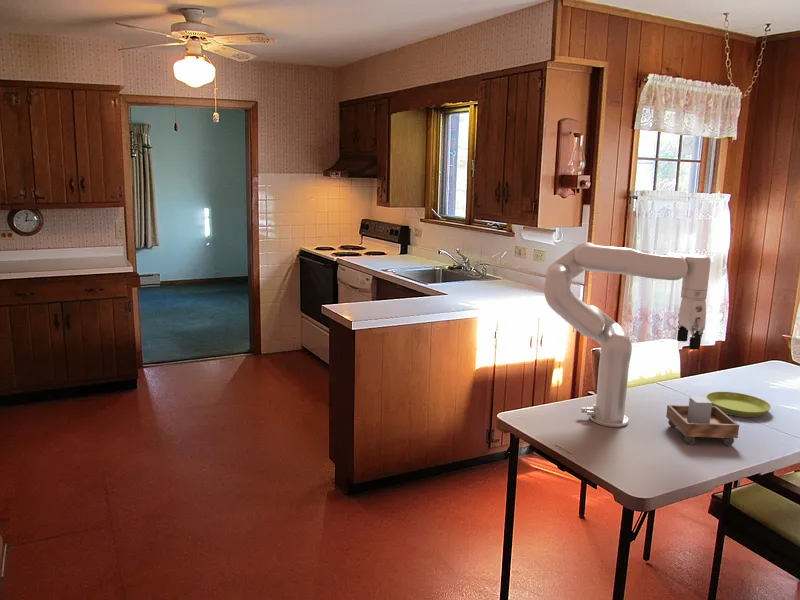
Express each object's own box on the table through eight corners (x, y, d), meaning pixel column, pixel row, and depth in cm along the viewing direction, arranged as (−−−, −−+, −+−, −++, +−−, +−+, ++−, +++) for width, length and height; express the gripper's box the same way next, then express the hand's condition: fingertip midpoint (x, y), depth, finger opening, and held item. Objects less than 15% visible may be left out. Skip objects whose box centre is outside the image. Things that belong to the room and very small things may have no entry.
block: (693, 426, 206) (696, 402, 204) (687, 420, 211) (689, 396, 209) (709, 426, 206) (712, 402, 204) (702, 420, 210) (705, 397, 209)
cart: (684, 445, 201) (687, 423, 200) (665, 424, 217) (667, 404, 215) (736, 446, 201) (739, 425, 199) (713, 426, 217) (715, 406, 215)
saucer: (778, 423, 221) (779, 414, 220) (713, 417, 225) (714, 408, 224) (758, 401, 241) (759, 393, 240) (699, 397, 245) (700, 389, 244)
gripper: (718, 299, 198) (711, 353, 201) (694, 288, 215) (688, 338, 218) (693, 299, 198) (687, 352, 202) (671, 288, 215) (666, 337, 218)
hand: (687, 345), depth 210 cm, fingers open, 9 cm apart
